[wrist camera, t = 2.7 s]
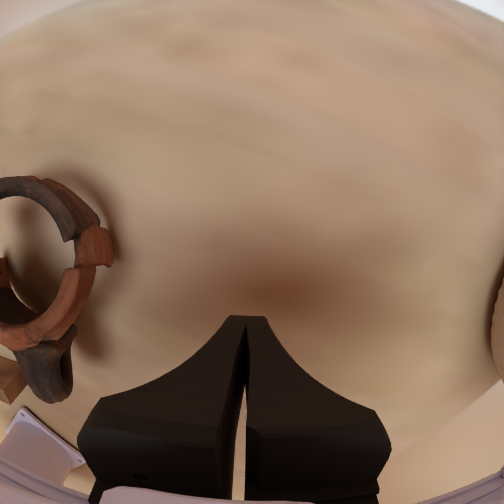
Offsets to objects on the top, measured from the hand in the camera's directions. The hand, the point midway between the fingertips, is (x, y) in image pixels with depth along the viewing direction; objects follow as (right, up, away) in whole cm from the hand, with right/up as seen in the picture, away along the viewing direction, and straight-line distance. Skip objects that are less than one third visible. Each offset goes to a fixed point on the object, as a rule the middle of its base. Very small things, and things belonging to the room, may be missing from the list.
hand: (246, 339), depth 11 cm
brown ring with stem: (-11, +2, +5) cm, 13 cm away
